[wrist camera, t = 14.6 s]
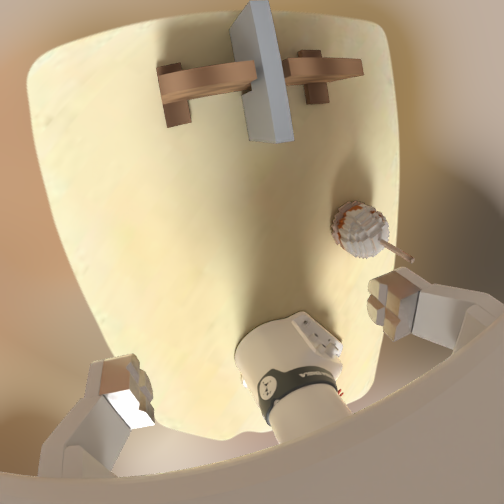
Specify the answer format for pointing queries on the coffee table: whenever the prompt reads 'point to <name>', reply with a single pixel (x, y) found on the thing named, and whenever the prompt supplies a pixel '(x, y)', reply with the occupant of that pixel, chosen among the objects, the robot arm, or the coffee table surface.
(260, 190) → the coffee table surface
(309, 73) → the walnut crosspiece
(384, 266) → the coffee table surface
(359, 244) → the decorative ornament
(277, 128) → the grey plate
